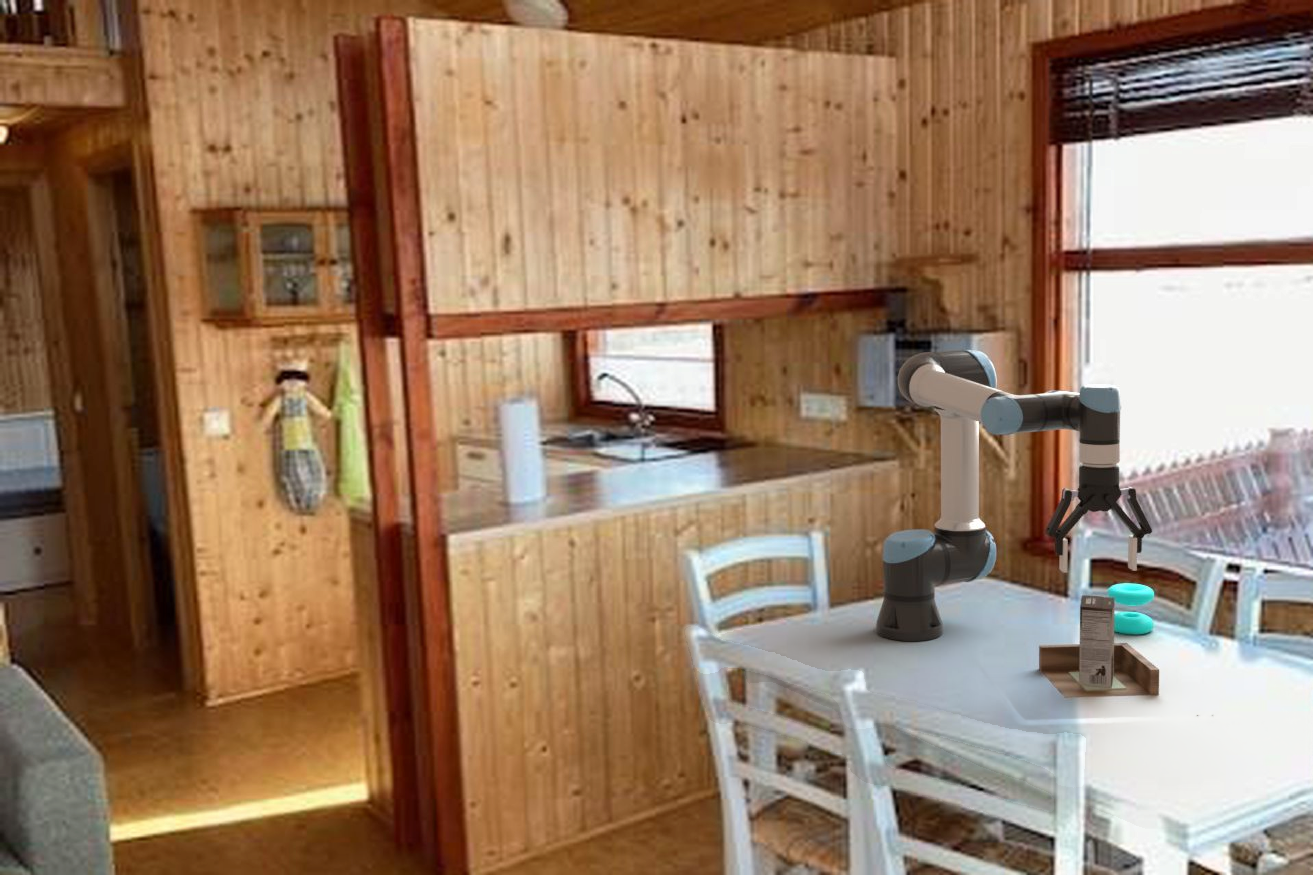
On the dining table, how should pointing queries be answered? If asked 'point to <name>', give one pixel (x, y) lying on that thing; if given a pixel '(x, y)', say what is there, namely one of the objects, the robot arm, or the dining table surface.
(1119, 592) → the donuts
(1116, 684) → the pad
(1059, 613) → the dining table surface
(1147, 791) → the dining table surface
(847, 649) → the dining table surface
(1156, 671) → the wooden corner tray
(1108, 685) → the coffee box
